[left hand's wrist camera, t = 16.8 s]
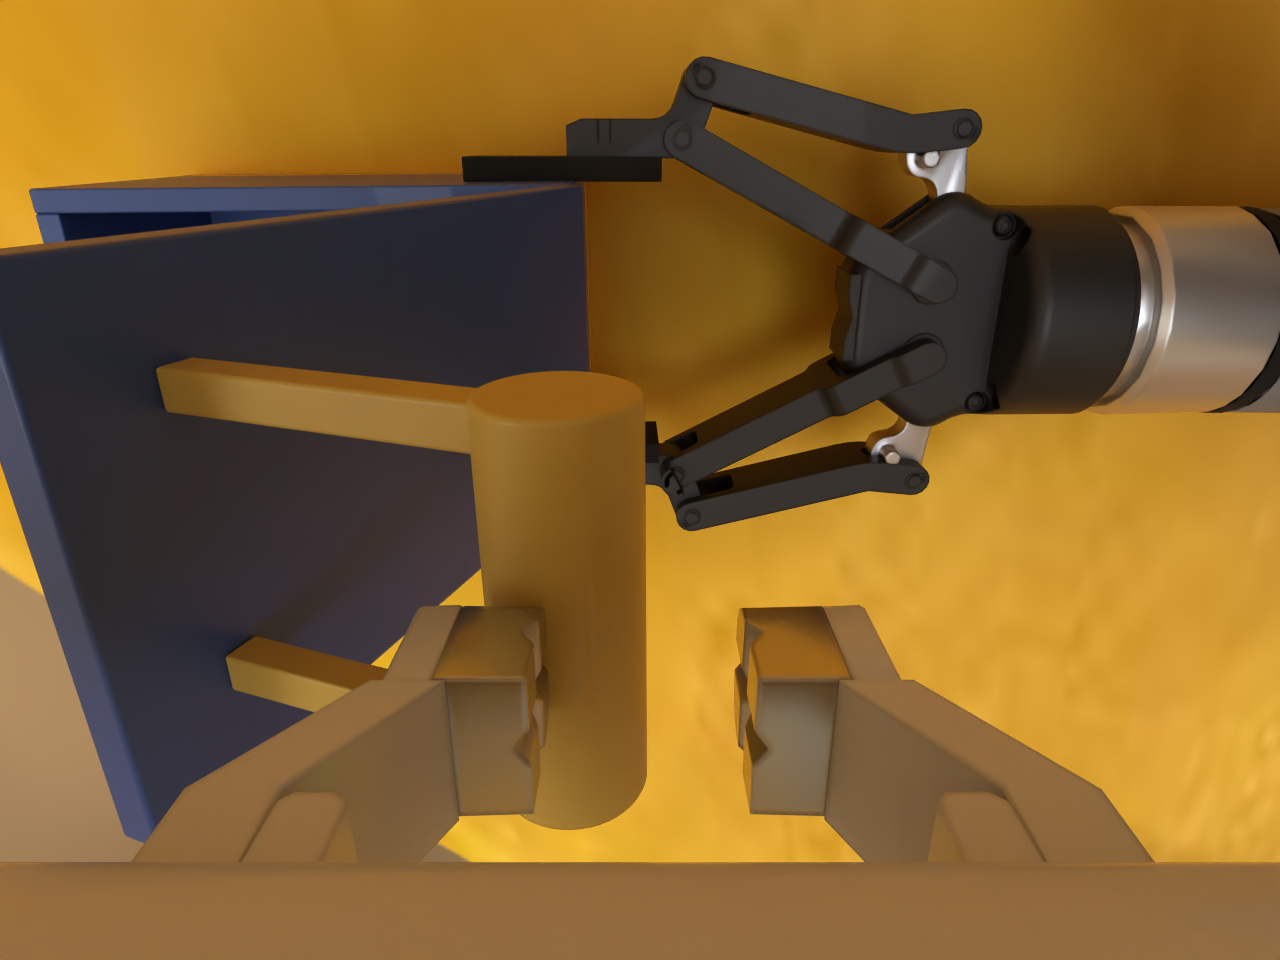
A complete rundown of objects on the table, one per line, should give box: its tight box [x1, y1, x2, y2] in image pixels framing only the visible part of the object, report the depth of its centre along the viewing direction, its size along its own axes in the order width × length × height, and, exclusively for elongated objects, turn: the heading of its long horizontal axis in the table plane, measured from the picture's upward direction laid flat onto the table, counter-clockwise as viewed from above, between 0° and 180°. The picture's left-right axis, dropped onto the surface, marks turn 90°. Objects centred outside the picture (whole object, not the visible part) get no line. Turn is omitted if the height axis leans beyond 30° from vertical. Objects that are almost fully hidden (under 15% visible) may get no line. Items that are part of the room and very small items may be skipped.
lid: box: [0, 185, 647, 843], centre depth 18 cm, size 17×9×8 cm
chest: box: [29, 173, 592, 372], centre depth 31 cm, size 16×9×10 cm, turn 90°
